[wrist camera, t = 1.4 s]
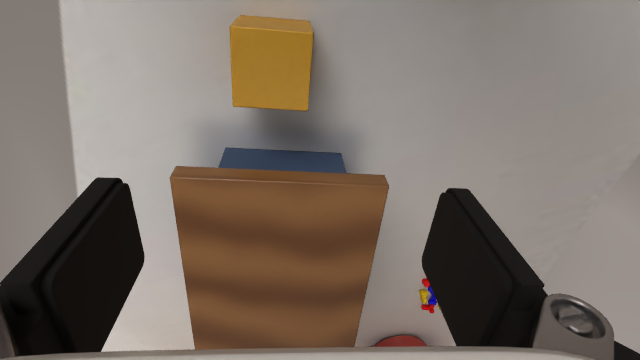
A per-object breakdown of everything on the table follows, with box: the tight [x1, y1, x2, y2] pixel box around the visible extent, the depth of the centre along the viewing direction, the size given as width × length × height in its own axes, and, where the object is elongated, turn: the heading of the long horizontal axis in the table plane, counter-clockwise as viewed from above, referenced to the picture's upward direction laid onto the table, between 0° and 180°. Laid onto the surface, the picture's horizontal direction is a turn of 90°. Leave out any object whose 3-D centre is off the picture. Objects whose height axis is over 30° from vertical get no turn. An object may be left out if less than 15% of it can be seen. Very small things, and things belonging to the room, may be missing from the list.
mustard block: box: [230, 15, 314, 111], centre depth 25 cm, size 5×5×5 cm
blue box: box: [219, 148, 346, 173], centre depth 32 cm, size 16×10×7 cm, turn 175°
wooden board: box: [170, 166, 389, 350], centre depth 29 cm, size 20×14×2 cm
